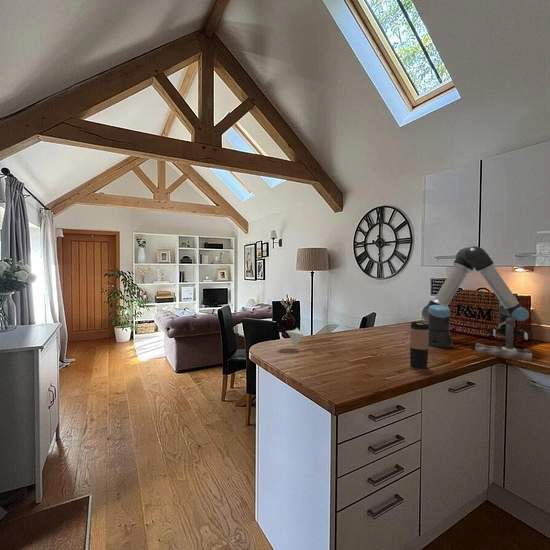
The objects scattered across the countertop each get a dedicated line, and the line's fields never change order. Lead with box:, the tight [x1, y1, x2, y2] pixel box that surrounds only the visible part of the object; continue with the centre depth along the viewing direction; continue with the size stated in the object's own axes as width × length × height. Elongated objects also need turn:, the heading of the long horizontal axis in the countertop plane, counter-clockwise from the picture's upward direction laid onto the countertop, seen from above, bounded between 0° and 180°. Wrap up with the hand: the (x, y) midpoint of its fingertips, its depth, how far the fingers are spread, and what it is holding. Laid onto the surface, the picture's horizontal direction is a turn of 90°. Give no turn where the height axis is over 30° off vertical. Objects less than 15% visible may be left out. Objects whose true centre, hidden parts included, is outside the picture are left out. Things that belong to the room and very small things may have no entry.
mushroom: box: [285, 327, 305, 350], centre depth 169 cm, size 10×11×12 cm
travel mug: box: [409, 321, 429, 369], centre depth 144 cm, size 8×8×20 cm
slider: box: [501, 318, 517, 352], centre depth 164 cm, size 6×5×19 cm
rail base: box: [474, 342, 533, 362], centre depth 166 cm, size 24×12×4 cm, turn 57°
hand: (510, 335), depth 164 cm, fingers open, 13 cm apart
